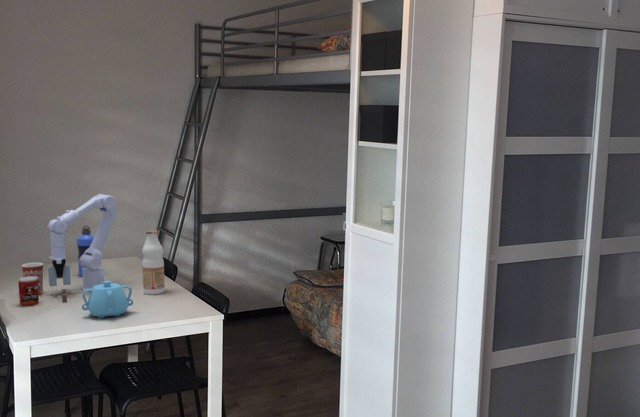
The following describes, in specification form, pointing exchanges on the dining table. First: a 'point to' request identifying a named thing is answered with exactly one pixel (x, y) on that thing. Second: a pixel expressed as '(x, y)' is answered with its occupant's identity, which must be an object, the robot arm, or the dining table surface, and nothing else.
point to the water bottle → (83, 245)
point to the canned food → (28, 291)
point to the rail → (64, 295)
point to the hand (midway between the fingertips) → (59, 276)
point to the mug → (34, 273)
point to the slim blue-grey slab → (65, 277)
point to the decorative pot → (107, 299)
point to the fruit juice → (153, 265)
